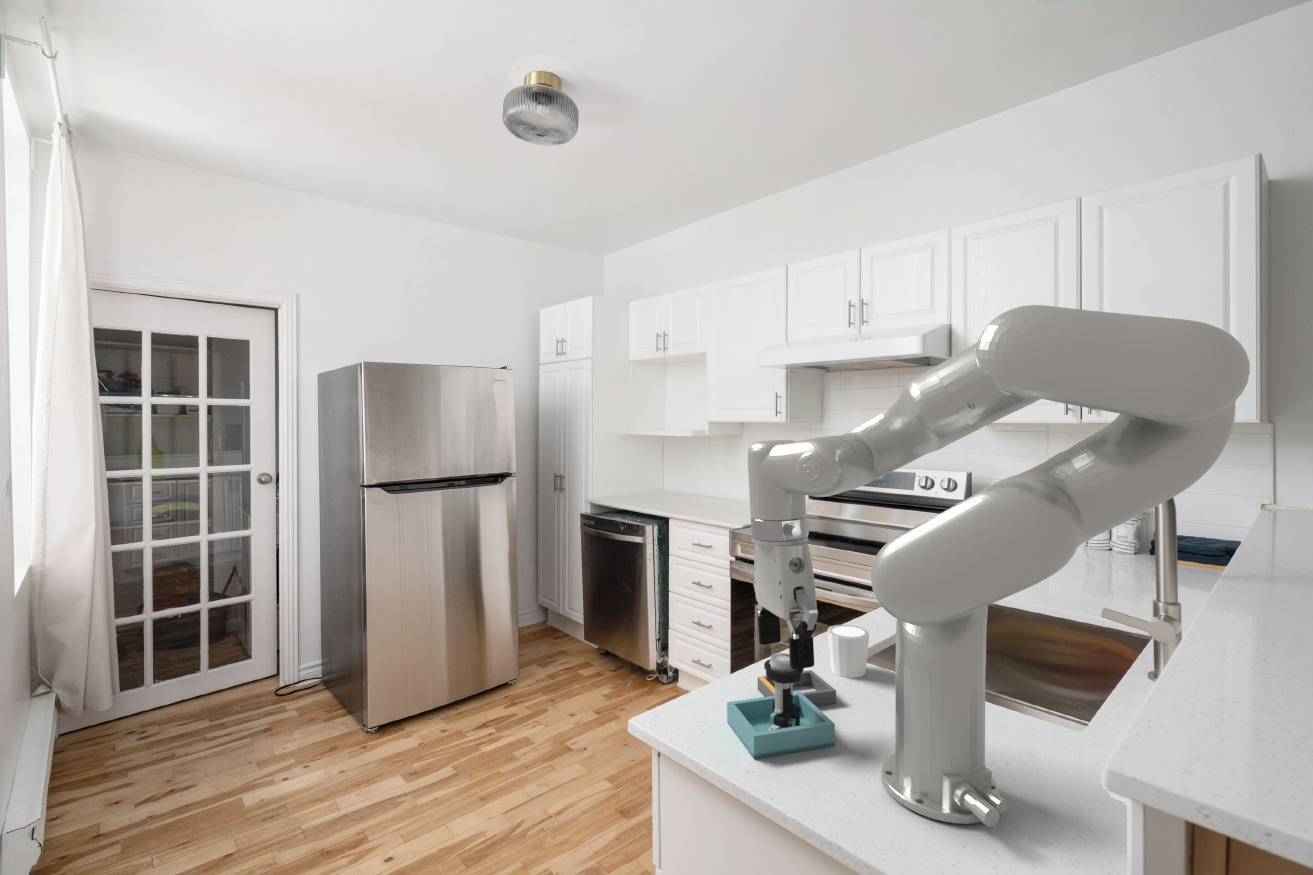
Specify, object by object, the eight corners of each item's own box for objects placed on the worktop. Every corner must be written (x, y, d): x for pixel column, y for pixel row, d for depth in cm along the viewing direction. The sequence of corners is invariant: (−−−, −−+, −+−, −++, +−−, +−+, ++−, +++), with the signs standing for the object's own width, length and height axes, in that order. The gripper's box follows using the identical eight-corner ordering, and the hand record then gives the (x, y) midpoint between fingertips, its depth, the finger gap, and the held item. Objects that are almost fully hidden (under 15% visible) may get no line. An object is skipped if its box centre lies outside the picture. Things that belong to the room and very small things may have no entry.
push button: (787, 747, 79) (787, 673, 79) (752, 734, 83) (751, 662, 82) (810, 727, 84) (810, 657, 84) (776, 715, 88) (776, 647, 87)
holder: (836, 703, 92) (836, 688, 92) (778, 711, 90) (778, 696, 90) (811, 681, 100) (811, 668, 99) (757, 689, 97) (757, 675, 97)
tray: (834, 745, 80) (834, 723, 80) (754, 758, 78) (753, 736, 77) (800, 711, 90) (800, 691, 90) (727, 722, 87) (727, 702, 87)
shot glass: (839, 659, 109) (839, 621, 108) (876, 670, 104) (876, 630, 103) (819, 671, 104) (819, 631, 103) (857, 683, 99) (857, 641, 99)
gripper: (837, 537, 75) (844, 673, 75) (776, 519, 92) (782, 631, 92) (782, 543, 73) (789, 683, 73) (730, 524, 90) (736, 638, 90)
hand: (785, 654), depth 83 cm, fingers open, 9 cm apart
